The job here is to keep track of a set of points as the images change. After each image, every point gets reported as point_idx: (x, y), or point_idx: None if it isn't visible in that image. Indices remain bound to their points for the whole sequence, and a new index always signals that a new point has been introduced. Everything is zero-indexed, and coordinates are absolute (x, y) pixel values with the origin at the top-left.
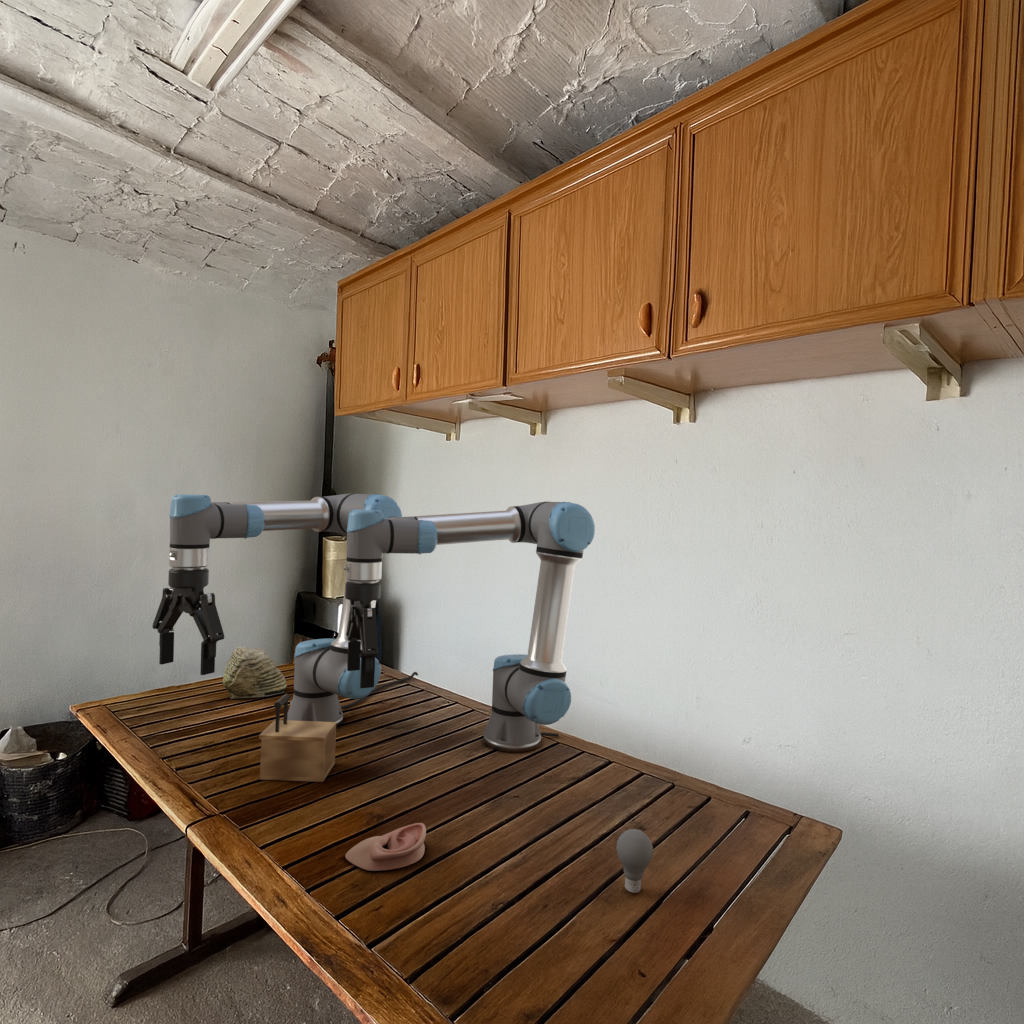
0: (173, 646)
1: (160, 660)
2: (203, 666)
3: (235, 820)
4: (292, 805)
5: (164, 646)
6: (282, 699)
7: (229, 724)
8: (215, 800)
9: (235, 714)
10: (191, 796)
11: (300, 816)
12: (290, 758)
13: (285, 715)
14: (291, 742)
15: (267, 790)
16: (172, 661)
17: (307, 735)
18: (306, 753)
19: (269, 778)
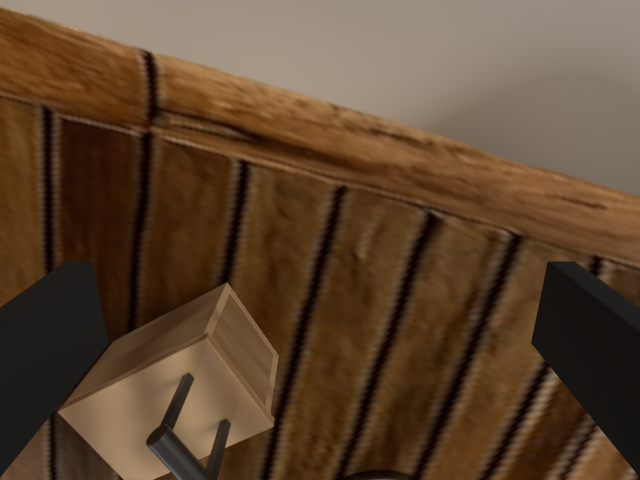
0: (600, 425)
1: (578, 274)
2: (23, 294)
3: (92, 129)
4: (66, 240)
5: (636, 361)
6: (168, 467)
7: (540, 427)
8: (214, 165)
9: (575, 467)
10: (276, 147)
11: (9, 217)
12: (153, 339)
13: (216, 440)
14: (135, 365)
15: (168, 257)
16: (534, 339)
17: (103, 400)
18: (115, 364)
19: (207, 292)
